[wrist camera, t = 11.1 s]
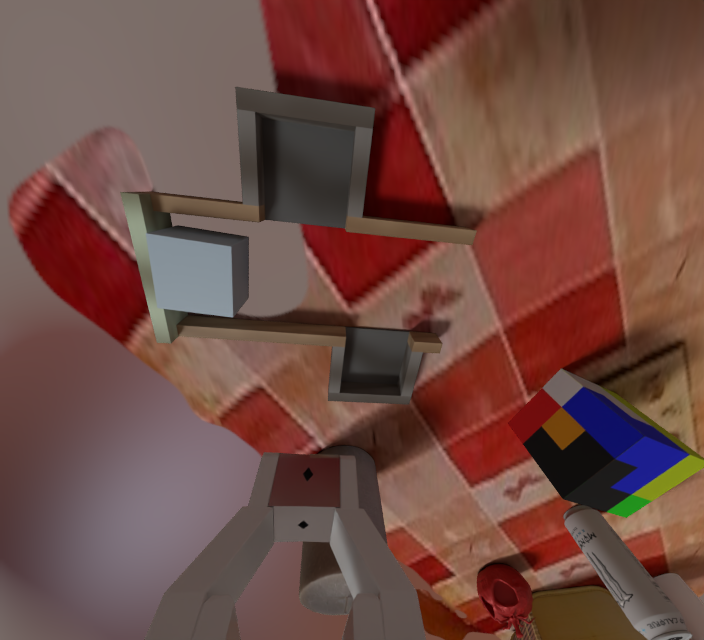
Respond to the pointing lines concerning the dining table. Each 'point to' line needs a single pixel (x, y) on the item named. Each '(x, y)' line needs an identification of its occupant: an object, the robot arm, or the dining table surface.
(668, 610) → the energy drink can
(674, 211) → the dining table surface
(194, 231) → the block
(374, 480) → the pillar candle
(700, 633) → the cylindrical container
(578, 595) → the picnic basket
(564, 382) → the puzzle toy
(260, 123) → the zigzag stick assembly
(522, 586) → the pomegranate
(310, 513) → the robot arm
